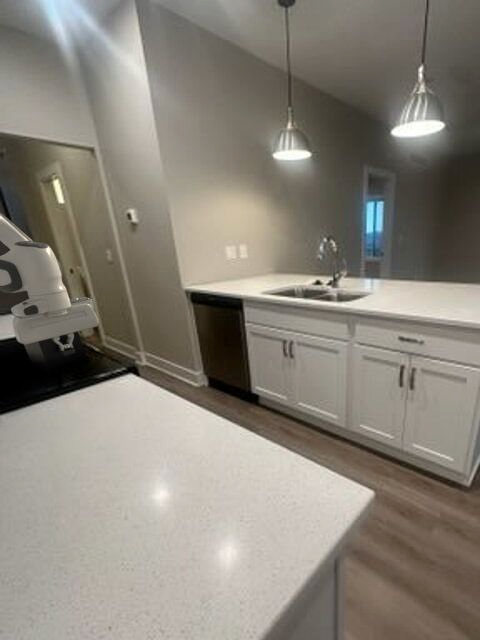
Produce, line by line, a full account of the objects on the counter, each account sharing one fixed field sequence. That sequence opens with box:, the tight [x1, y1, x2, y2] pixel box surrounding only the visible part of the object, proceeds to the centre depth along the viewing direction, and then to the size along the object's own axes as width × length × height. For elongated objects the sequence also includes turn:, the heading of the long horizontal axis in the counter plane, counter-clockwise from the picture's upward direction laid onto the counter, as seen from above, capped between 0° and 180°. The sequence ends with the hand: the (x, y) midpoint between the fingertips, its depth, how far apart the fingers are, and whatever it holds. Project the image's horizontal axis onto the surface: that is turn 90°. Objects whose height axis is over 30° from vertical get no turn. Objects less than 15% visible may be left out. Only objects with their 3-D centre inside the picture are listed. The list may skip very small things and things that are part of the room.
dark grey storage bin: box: [23, 331, 89, 376], centre depth 108 cm, size 10×17×11 cm, turn 52°
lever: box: [58, 348, 76, 356], centre depth 101 cm, size 3×4×1 cm
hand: (67, 349), depth 101 cm, fingers closed, pressing on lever
